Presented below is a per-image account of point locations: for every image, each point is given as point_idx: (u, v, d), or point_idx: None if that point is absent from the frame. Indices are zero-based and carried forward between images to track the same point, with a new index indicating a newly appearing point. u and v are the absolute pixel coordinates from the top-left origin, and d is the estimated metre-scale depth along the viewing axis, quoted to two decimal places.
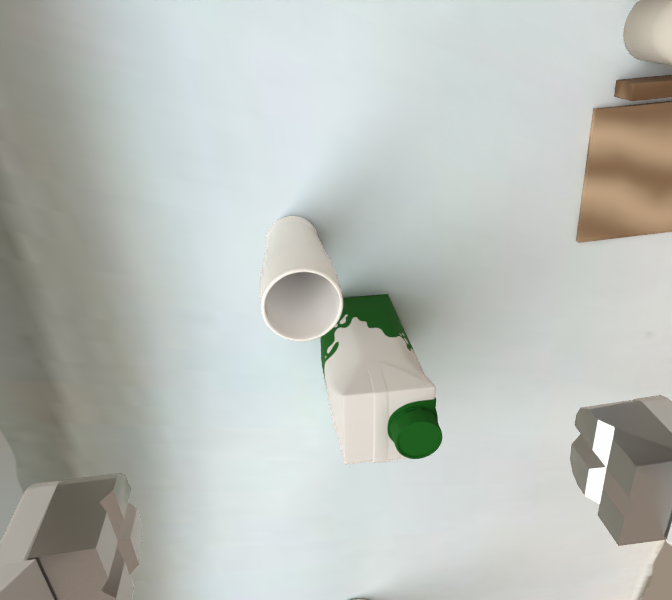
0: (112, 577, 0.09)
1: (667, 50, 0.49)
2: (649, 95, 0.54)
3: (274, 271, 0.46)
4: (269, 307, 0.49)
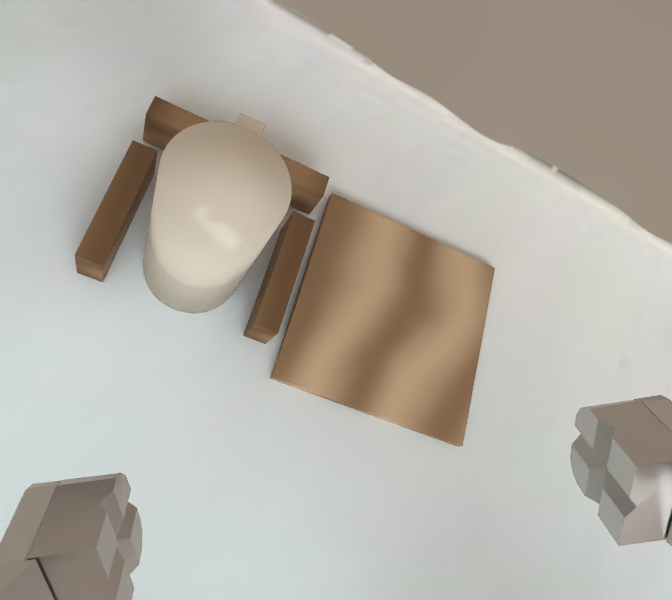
0: (112, 577, 0.09)
1: (216, 281, 0.30)
2: (281, 306, 0.35)
3: None
4: None
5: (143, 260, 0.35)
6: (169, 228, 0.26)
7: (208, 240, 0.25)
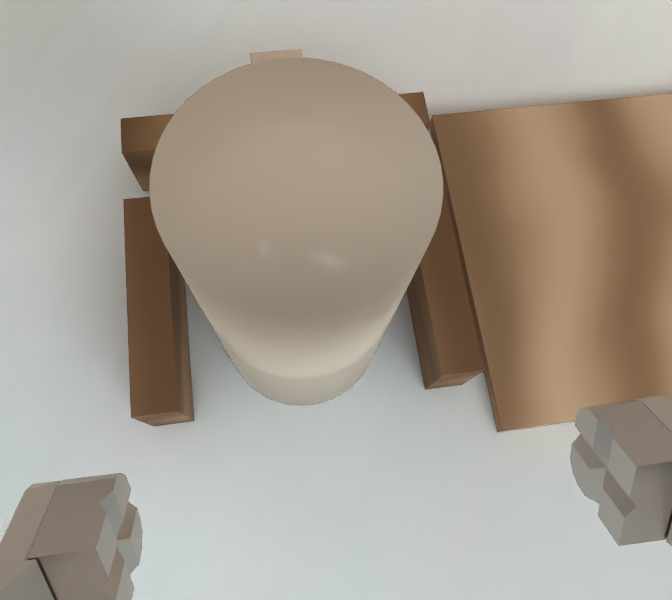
0: (112, 577, 0.09)
1: (361, 354, 0.17)
2: (466, 324, 0.20)
3: None
4: None
5: None
6: (243, 328, 0.12)
7: (328, 317, 0.11)
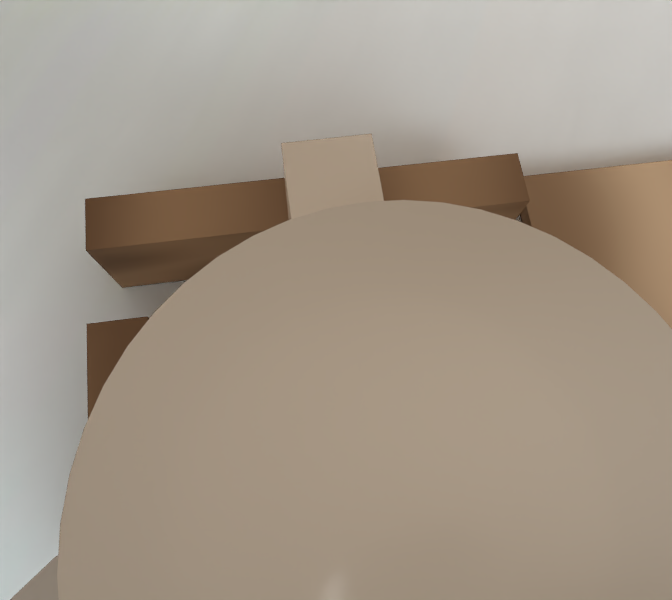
0: None
1: None
2: None
3: None
4: None
5: None
6: None
7: None
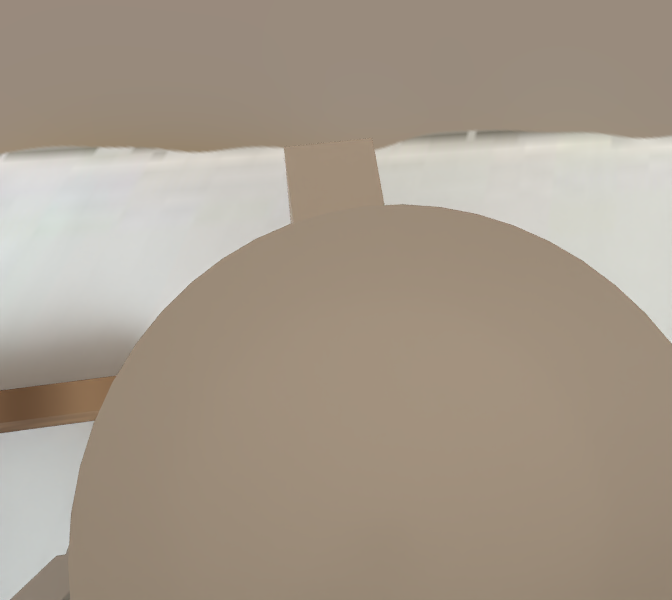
0: None
1: None
2: None
3: None
4: None
5: None
6: None
7: None
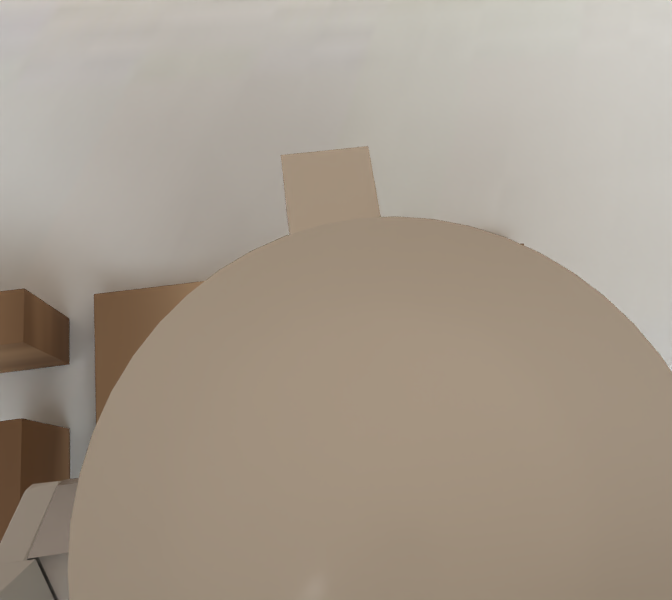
0: None
1: None
2: None
3: None
4: None
5: None
6: None
7: None
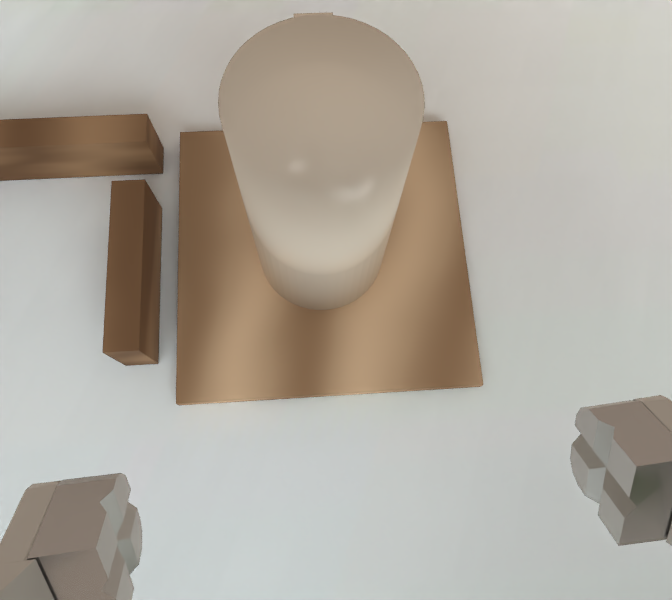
0: (112, 577, 0.09)
1: (363, 251, 0.21)
2: (133, 312, 0.25)
3: None
4: None
5: (262, 268, 0.27)
6: (276, 206, 0.18)
7: (336, 194, 0.16)
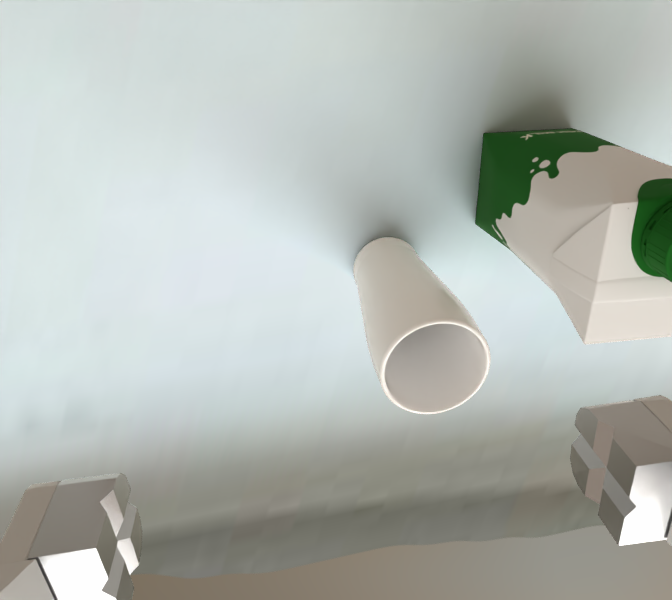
0: (112, 577, 0.09)
1: None
2: None
3: None
4: (442, 374, 0.38)
5: None
6: None
7: None
